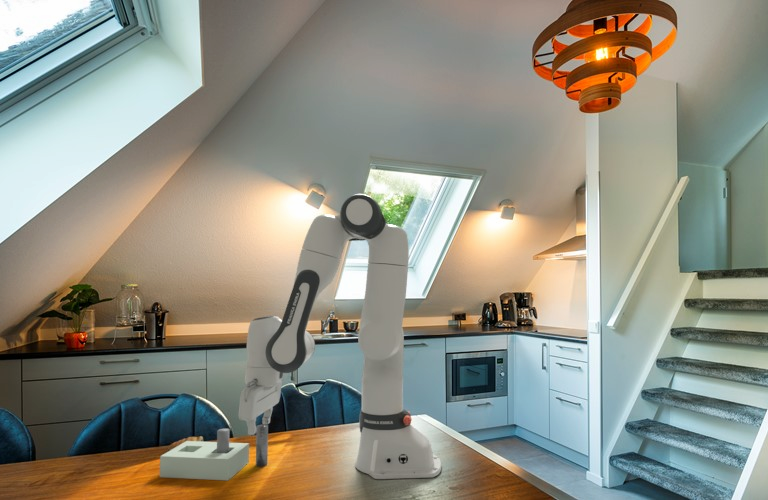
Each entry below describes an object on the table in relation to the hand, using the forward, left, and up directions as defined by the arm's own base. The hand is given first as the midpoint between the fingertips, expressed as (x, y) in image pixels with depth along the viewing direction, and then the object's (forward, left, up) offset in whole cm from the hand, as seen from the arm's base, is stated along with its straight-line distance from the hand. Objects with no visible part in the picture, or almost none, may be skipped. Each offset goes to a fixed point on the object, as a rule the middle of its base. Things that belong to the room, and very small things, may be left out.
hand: (259, 428), depth 124 cm
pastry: (+25, -9, -10) cm, 28 cm away
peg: (-1, 0, -9) cm, 9 cm away
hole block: (+12, +5, -9) cm, 16 cm away
